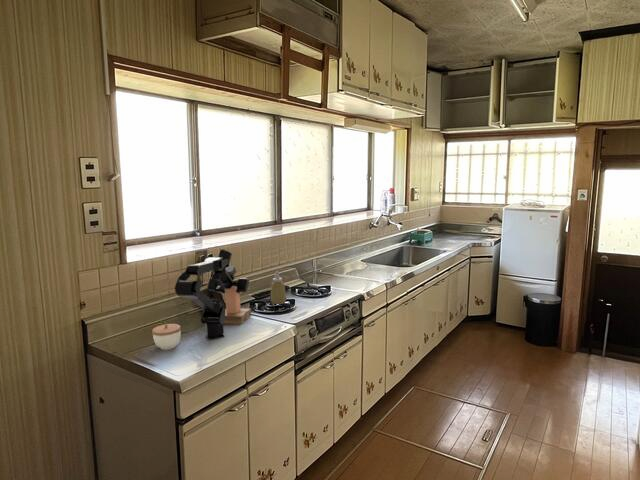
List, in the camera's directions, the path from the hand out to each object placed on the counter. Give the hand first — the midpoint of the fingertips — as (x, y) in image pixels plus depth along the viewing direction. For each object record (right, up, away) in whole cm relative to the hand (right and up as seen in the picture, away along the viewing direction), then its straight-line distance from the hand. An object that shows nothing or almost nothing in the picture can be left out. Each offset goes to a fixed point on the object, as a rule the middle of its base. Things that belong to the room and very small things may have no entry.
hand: (234, 293), depth 205 cm
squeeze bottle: (+19, -9, +20) cm, 29 cm away
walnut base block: (0, -13, +1) cm, 13 cm away
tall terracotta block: (0, -9, 0) cm, 9 cm away
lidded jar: (-20, -18, -30) cm, 41 cm away
